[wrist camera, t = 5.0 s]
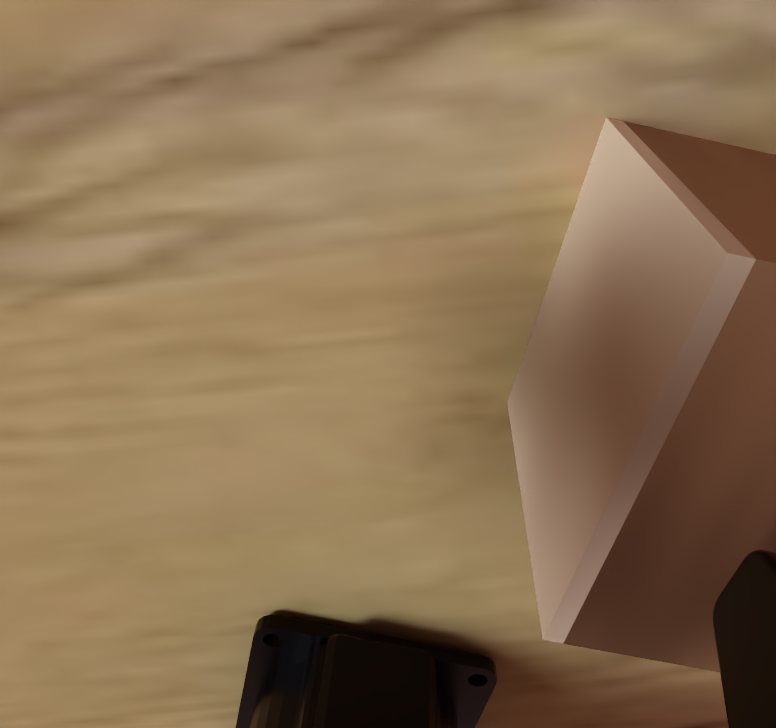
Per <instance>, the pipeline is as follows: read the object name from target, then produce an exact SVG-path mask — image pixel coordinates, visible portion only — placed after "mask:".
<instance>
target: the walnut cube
mask: <svg viewBox="0 0 776 728" xmlns="http://www.w3.org/2000/svg"><path fill="white" fill-rule="evenodd" d="M507 405H508V412H509V418H510V425H511V431H512V438H513V445H514V451H515V458H516V465H517V471H518V478H519V485H520V491H521V498H522V505H523V511H524V518H525V525H526V531H527V538H528V545H529V551H530V558H531V565H532V571H533V578H534V584H535V591H536V598H537V604H538V611H539V618H540V624H541V631H542V638H543V640H546V641H552V642H557V643H563V644H568V645H574V646H579V647H585V648H590V649H596V650H601V651H607V652H612V653H618V654H623V655H629V656H634V657H640V658H645V659H651V660H656V661H662V662H667V663H673V664H678V665H684V666H689V667H695V668H700V669H706V670H711V671H717V672H720V666H719V660H718V653H717V647H716V640H715V634H714V627H713V610H714V606H715V603H716V600H717V598H718V597H719V595H720V594H721V592H722V591H723V589H724V588H725V586H726V585H727V583H728V582H729V580H730V579H731V577H732V576H733V574H734V573H735V572H736V570H737V569H738V567H739V566H740V564H741V563H742V561H743V560H744V558H745V557H746V556H747V555H748V554H749V553H751V552H752V551H755V550H766V551H770V552H775V553H776V155H772V154H768V153H763V152H759V151H754V150H750V149H745V148H741V147H736V146H732V145H727V144H723V143H718V142H714V141H709V140H705V139H700V138H696V137H691V136H687V135H682V134H678V133H674V132H669V131H665V130H660V129H656V128H651V127H647V126H642V125H638V124H633V123H629V122H624V121H620V120H615V119H611V118H606V120H605V123H604V125H603V128H602V131H601V134H600V137H599V140H598V143H597V146H596V149H595V151H594V154H593V157H592V160H591V163H590V166H589V169H588V172H587V174H586V177H585V180H584V183H583V186H582V189H581V192H580V195H579V198H578V200H577V203H576V206H575V209H574V212H573V215H572V218H571V221H570V224H569V226H568V229H567V232H566V235H565V238H564V241H563V244H562V247H561V249H560V252H559V255H558V258H557V261H556V264H555V267H554V270H553V273H552V275H551V278H550V281H549V284H548V287H547V290H546V293H545V296H544V299H543V301H542V304H541V307H540V310H539V313H538V316H537V319H536V322H535V324H534V327H533V330H532V333H531V336H530V339H529V342H528V345H527V348H526V350H525V353H524V356H523V359H522V362H521V365H520V368H519V371H518V373H517V376H516V379H515V382H514V385H513V388H512V391H511V394H510V397H509V399H508V402H507Z"/></svg>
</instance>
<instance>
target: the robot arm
mask: <svg viewBox="0 0 776 728" xmlns="http://www.w3.org/2000/svg"><path fill="white" fill-rule="evenodd" d="M713 627H714V634H715V640H716V647H717V653H718V660H719V666H720V673H721V679H722V686H723V692H724V699H725V705H726V712H727V718H728V725H729V728H776V553H775V552H770V551H766V550H755V551H752V552H751V553H749V554H748V555H747V556H746V557H745V558H744V560H743V561H742V563H741V564H740V566H739V567H738V569H737V570H736V572H735V573H734V574H733V576H732V577H731V579H730V580H729V582H728V583H727V585H726V586H725V588H724V589H723V591H722V592H721V594H720V595H719V597H718V598H717V600H716V603H715V606H714V610H713ZM496 681H497V676H496V666H495V664H494V661H492V660H491V659H490V658H488V657H485V656H482V655H477V654H472V653H467V652H462V651H457V650H452V649H446V648H441V647H436V646H431V645H426V644H421V643H416V642H411V641H406V640H401V639H396V638H391V637H385V636H380V635H375V634H370V633H365V632H360V631H355V630H350V629H345V628H340V627H335V626H330V625H325V624H319V623H314V622H309V621H304V620H299V619H294V618H289V617H284V616H279V615H268V616H264V617H262V618H261V619H259V621H258V623H257V625H256V629H255V633H254V636H253V642H252V647H251V652H250V657H249V662H248V667H247V672H246V678H245V683H244V688H243V693H242V698H241V703H240V709H239V714H238V719H237V724H236V728H475V726H476V724H477V722H478V720H479V718H480V716H481V714H482V712H483V710H484V708H485V705H486V703H487V701H488V699H489V697H490V695H491V693H492V691H493V689H494V687H495V685H496Z"/></svg>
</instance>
